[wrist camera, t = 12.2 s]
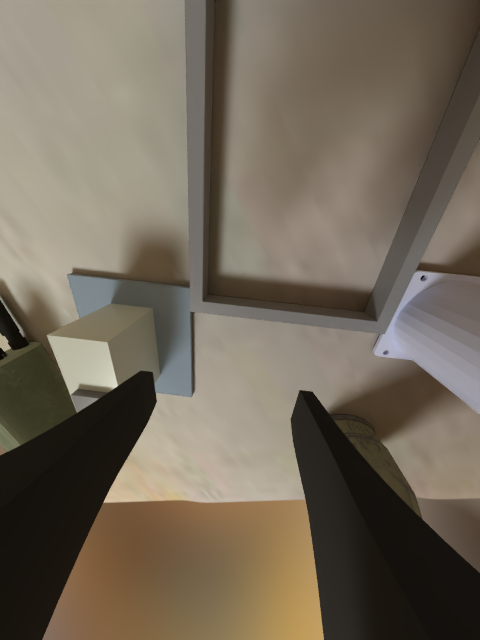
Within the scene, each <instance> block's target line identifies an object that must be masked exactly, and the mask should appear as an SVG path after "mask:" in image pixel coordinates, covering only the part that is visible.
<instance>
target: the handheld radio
mask: <svg viewBox="0 0 480 640" xmlns="http://www.w3.org/2000/svg"><path fill="white" fill-rule="evenodd" d="M19 331H20V330H19V329H18V327H17V325H16V324H15V322H14V321H13V319H12V318H11V316H10V314H9V313H8V311H7V310H6V308H5V307H4V305H3V303H2V302H1V300H0V333H1V334H2V336H5V337H6V339H7V340H8V341H9V342H8V344H9V346H10V347H11V349H9V350H7V351H5V352H4V351H3V350H2V349H1V348H0V445H1V446H2V447H3V448H4V449H5V450H6V451H7V452H8V451H10V450H12V449H14V448H16V447H18V446H20V445H22V444H24V443H26V442H28V441H29V440H31V439H33V438H35V437H37V436H38V435H40V434H42V433H44V432H46V431H47V430H49V429H51V428H53V427H54V426H56V425H58V424H60V423H61V422H63V421H65V420H66V419H68V418H69V417H71V416H73V415H74V414H76V413H77V411H76V408H75V406H74V403H73V401H72V398H71V396H70V393H69V391H68V388H67V385H66V383H65V381H64V379H63V377H62V376H61V374H60V373H59V371H58V370H57V368H56V366H55V365H54V363H53V362H52V360H51V358H50V357H49V355H48V354H47V352H46V350H45V349H44V347H43V346H42V345H41V344H40V343H39V342H28V341H27V339H26V338H25V337H23V336H22V335H21V333H20V332H19Z"/></svg>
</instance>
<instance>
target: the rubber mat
mask: <svg viewBox="0 0 480 640" xmlns="http://www.w3.org/2000/svg"><path fill="white" fill-rule="evenodd" d="M67 277H68V281H69V284H70V288H71V291H72V294H73V298H74V301H75V305H76V308H77V312H78V315H79V318H82V317H84V316H86V315H88V314H90V313H92V312H94V311H96V310H98V309H100V308H102V307H104V306H106V305H108V304H110V303H112V304H121V305H130V306H139V307H147V308H153V314H154V323H155V332H156V341H157V350H158V359H159V368H160V377H159V378H158V380H157V381H156V383H155V392H156V393H162V394H170V395H178V396H186V397H192V395H193V366H192V312H190V287H187V286H178V285H169V284H161V283H152V282H143V281H134V280H125V279H117V278H108V277H99V276H90V275H81V274H72V273H71V274H67Z"/></svg>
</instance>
